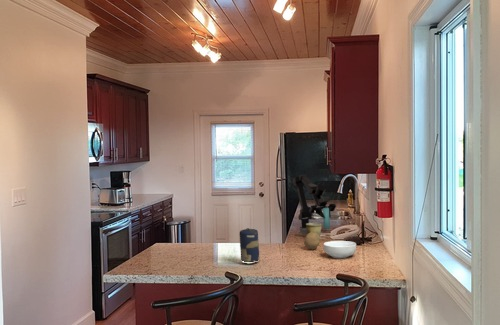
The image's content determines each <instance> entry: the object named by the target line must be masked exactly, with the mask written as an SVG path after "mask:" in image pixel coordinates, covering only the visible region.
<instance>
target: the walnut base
mask: <svg viewBox="0 0 500 325" xmlns="http://www.w3.org/2000/svg"><path fill="white" fill-rule="evenodd" d="M307 234H308V231H307V228H300V229H299V232H297V233H295V234H294V236H295V237H306V236H307Z"/></svg>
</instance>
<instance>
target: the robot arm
mask: <svg viewBox="0 0 500 325" xmlns="http://www.w3.org/2000/svg"><path fill="white" fill-rule="evenodd" d="M292 184H293V187H294V188H295V189H296V190H297V195H298V200H299V205H300V209H299V214H298V218H297V219H298V221H301V222H300V223H301V226H299V228H300V229H302V228H307V227H306V224H307V223H310V220H312V216H313V214H314V213H315V215H316V214H317V215H318V216H319V217H321V218H322V219H323V218H325V216H324V214H323V208H329V219H330V218H331V212H334V211H335V209H336V208H337V204H336V203H334V202H332V203H329V202H330V201H331V197H330V196H329V195H328V196H327V195H326V196H325V197H324V196H323V195H324V193H325V192H326V190H327V189H326V186H325V185H323V184H321V183H318V184H314V183H313V182H312V181H311V180H310V178H308V176H307V174H301V175H299V176H297V177H295V176H294V178H292ZM304 186H305V187H306V188H307V192H308V194H309V195H312V198H311V199H312V200H313V201H314V202H315V204H311V205H310V206H308V202H307V198H306V194H305V189H304ZM328 203H329V204H328Z"/></svg>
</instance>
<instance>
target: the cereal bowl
mask: <svg viewBox="0 0 500 325" xmlns="http://www.w3.org/2000/svg"><path fill="white" fill-rule="evenodd" d="M323 250H324V252H325V253H326V254H327V255H328V256H331V257H332V258H333V259H347V258H348V257H350V256H352V255H354V254H355V253H356V250H357V243H356V242H354V241H348V240H347V241H346V240H331V241H325V242H324V243H323Z"/></svg>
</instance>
